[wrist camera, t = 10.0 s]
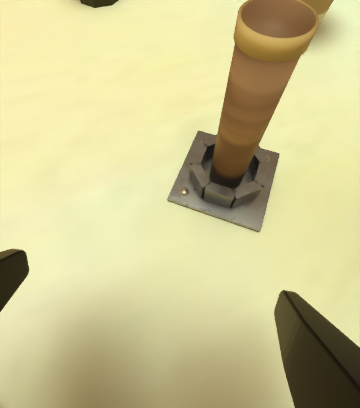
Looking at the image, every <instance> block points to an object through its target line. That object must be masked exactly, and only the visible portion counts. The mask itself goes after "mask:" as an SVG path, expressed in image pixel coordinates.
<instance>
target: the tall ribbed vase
mask: <svg viewBox="0 0 360 408" xmlns="http://www.w3.org/2000/svg"><path fill="white" fill-rule="evenodd" d="M318 25H319V17H318V14H317V13H316V11H315V10H314V9H313V8H312V7H311V6H309V5H308V4H306V3H305V2H303V1H300V0H248V1H246V2H245V3H244V4H243V5H242V6H241V7H240V8H239V11H238V16H237V21H236V27H235V32H234V41H235V47H234V52H233V57H232V62H231V67H230V72H229V77H228V83H227V88H226V93H225V98H224V103H223V108H222V113H221V118H220V124H219V129H218V134H217V139H216V144H215V149H214V154H213V160H212V165H211V170H210V180H211V182H212V183H216V184H219V185H222V186H225V187H228V188H231V189H235V188H236V187H238V186H239V185H240V183H241V181H242V179H243V177H244V175H245V173H246V171H247V169H248V166H249V164H250V162H251V160H252V158H253V156H254V154H255V151H256V149H257V147H258V145H259V143H260V141H261V139H262V137H263V134H264V132H265V130H266V128H267V126H268V124H269V122H270V120H271V117H272V115H273V113H274V111H275V109H276V107H277V105H278V102H279V100H280V98H281V96H282V94H283V92H284V90H285V88H286V85H287V83H288V81H289V79H290V77H291V75H292V73H293V71H294V68H295V66H296V64H297V62H298V60H299V58H300V56H301V55H302V54H303V53H304V52H305V51H306V50H307V48H308V46H309V44H310V42H311V39H312V37H313V35H314V33H315V31H316V29H317V27H318Z"/></svg>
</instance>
